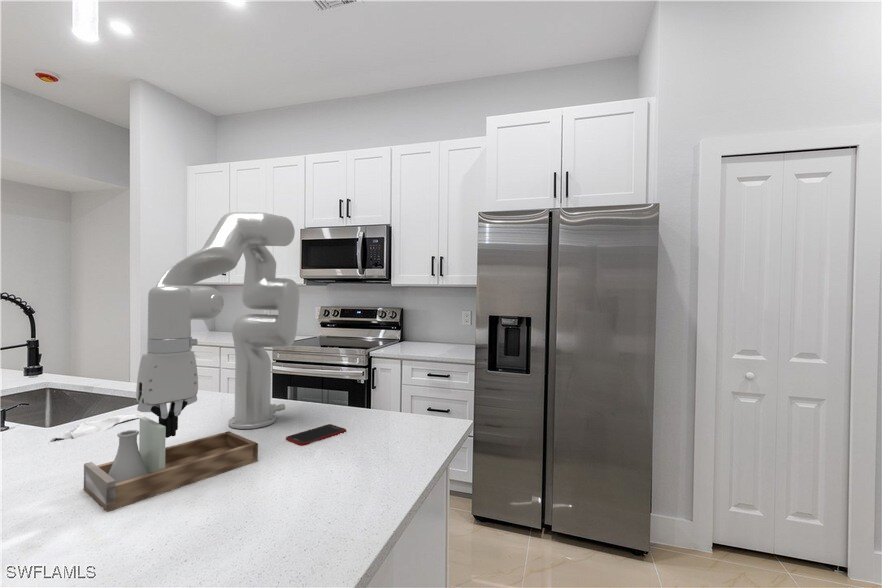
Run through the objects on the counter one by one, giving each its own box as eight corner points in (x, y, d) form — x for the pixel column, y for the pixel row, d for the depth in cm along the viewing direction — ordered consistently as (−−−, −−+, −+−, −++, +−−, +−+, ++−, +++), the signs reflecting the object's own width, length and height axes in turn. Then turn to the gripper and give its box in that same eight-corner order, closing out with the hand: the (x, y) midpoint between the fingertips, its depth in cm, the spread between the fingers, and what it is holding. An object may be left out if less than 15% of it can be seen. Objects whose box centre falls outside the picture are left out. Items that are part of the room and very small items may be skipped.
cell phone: (347, 432, 117) (347, 429, 117) (301, 448, 105) (301, 444, 105) (330, 427, 122) (330, 423, 122) (284, 440, 110) (284, 437, 110)
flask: (121, 495, 77) (122, 441, 77) (94, 489, 79) (94, 436, 79) (159, 478, 84) (159, 428, 84) (132, 473, 86) (133, 424, 86)
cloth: (134, 413, 132) (134, 406, 132) (162, 419, 126) (162, 412, 126) (25, 439, 108) (25, 430, 108) (53, 448, 103) (53, 439, 103)
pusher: (144, 468, 88) (145, 416, 88) (164, 482, 82) (165, 426, 82) (138, 470, 87) (139, 417, 87) (159, 483, 81) (159, 428, 81)
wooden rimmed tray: (228, 447, 104) (228, 427, 104) (257, 460, 96) (258, 438, 96) (83, 489, 81) (83, 463, 81) (106, 511, 73) (107, 482, 73)
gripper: (199, 341, 95) (197, 423, 95) (119, 348, 83) (117, 441, 83) (215, 344, 90) (214, 430, 91) (133, 352, 78) (132, 450, 78)
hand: (168, 435), depth 87 cm, fingers closed
